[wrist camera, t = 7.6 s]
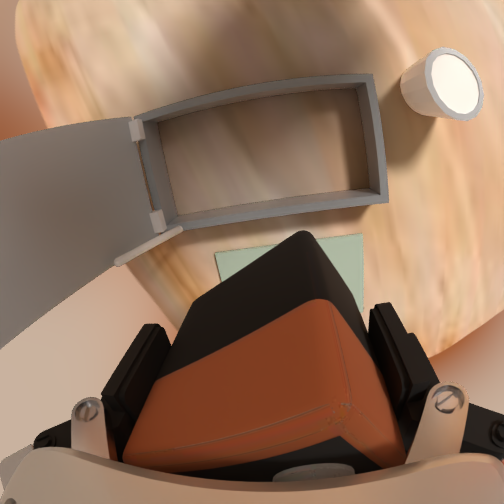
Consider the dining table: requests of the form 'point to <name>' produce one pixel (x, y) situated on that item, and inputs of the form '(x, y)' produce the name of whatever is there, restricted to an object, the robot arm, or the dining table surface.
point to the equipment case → (172, 224)
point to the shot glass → (443, 86)
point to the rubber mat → (336, 248)
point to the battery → (270, 380)
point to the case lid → (66, 214)
